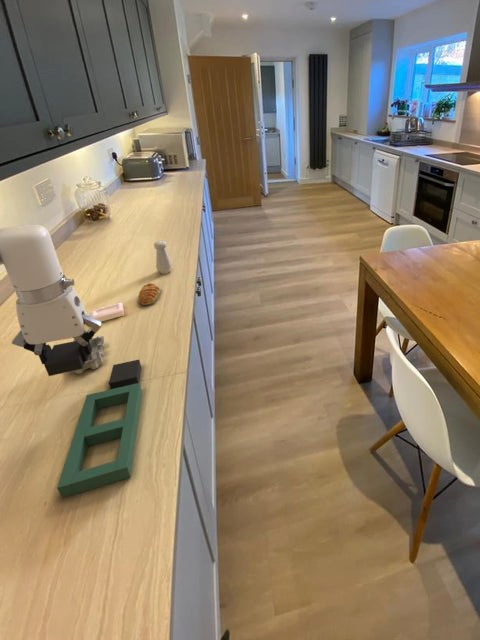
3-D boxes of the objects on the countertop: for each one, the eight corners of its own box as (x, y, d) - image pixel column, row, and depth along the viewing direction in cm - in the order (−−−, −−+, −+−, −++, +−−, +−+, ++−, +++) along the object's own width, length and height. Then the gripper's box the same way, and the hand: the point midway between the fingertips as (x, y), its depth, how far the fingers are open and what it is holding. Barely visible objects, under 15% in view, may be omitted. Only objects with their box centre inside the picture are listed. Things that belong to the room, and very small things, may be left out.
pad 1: (48, 376, 65) (44, 365, 64) (58, 355, 71) (53, 345, 69) (82, 368, 67) (78, 357, 66) (89, 349, 72) (85, 338, 71)
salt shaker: (159, 276, 126) (153, 246, 121) (155, 270, 130) (149, 241, 125) (174, 272, 129) (169, 242, 124) (170, 266, 134) (165, 237, 128)
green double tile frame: (62, 498, 57) (56, 488, 56) (90, 404, 74) (86, 394, 73) (130, 477, 60) (127, 467, 59) (142, 391, 77) (139, 382, 76)
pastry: (158, 304, 109) (156, 295, 108) (136, 308, 108) (134, 298, 106) (161, 290, 118) (159, 281, 116) (141, 293, 116) (138, 283, 114)
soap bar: (124, 316, 104) (122, 309, 103) (91, 325, 99) (89, 318, 98) (123, 307, 108) (121, 301, 107) (91, 315, 104) (89, 309, 103)
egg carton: (77, 349, 90) (73, 337, 88) (107, 342, 93) (104, 330, 91) (69, 377, 81) (64, 365, 79) (103, 368, 84) (99, 356, 82)
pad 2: (111, 392, 77) (108, 383, 76) (115, 373, 82) (113, 364, 81) (139, 385, 79) (136, 376, 78) (141, 367, 84) (139, 359, 83)
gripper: (97, 272, 67) (117, 340, 75) (-4, 286, 62) (27, 358, 69) (89, 291, 61) (111, 363, 68) (-25, 309, 56) (12, 385, 63)
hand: (69, 360), depth 69 cm, fingers closed on pad 1, 6 cm apart
